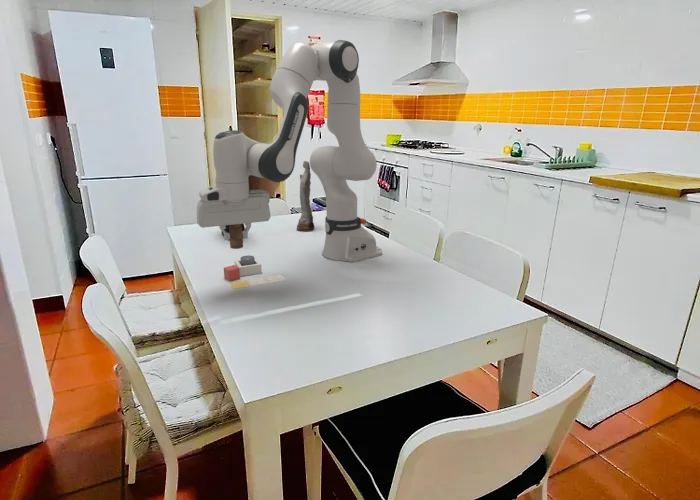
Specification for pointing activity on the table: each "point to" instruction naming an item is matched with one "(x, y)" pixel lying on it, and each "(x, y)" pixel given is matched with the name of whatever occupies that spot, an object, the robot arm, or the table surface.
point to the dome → (247, 260)
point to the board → (257, 281)
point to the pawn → (236, 236)
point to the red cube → (231, 273)
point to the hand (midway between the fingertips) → (236, 238)
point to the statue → (305, 201)
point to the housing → (249, 268)
